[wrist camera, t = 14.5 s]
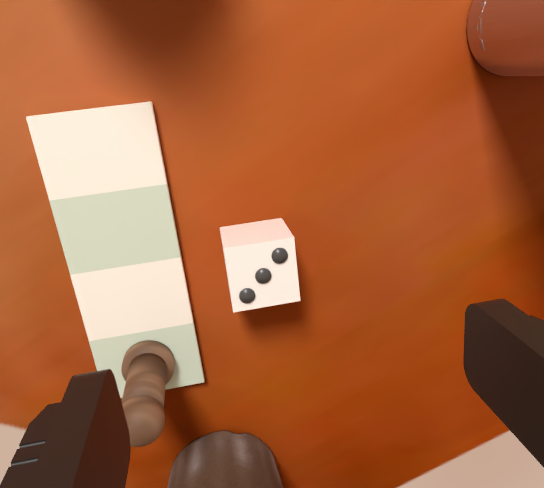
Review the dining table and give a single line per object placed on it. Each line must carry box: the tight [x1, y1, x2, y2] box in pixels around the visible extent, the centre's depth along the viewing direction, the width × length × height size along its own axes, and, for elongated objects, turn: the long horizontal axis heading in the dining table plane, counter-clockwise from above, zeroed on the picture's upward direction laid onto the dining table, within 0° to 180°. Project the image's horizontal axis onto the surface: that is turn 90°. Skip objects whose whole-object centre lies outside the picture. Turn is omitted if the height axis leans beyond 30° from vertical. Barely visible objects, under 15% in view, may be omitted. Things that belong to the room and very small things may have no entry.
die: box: [220, 218, 300, 313], centre depth 43 cm, size 6×6×6 cm
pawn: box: [121, 340, 175, 447], centre depth 42 cm, size 5×5×11 cm
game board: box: [26, 101, 204, 398], centre depth 44 cm, size 10×28×1 cm, turn 6°
